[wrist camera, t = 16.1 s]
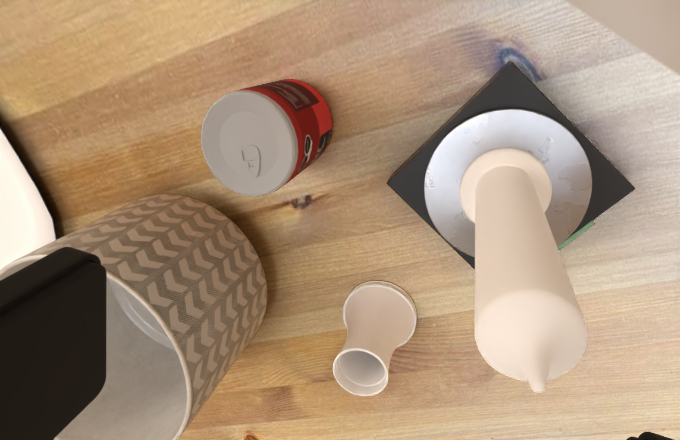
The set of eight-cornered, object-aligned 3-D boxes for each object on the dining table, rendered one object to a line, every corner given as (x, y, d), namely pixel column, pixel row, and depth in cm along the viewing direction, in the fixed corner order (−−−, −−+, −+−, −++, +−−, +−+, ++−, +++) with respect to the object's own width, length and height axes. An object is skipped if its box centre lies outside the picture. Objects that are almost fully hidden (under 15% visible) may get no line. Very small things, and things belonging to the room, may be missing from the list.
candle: (506, 128, 39) (548, 262, 16) (570, 190, 39) (699, 404, 17) (441, 190, 42) (400, 376, 19) (502, 246, 42) (531, 494, 20)
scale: (509, 60, 41) (512, 62, 37) (631, 184, 41) (644, 197, 38) (390, 176, 46) (384, 187, 43) (499, 283, 47) (501, 301, 44)
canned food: (279, 174, 49) (228, 210, 39) (243, 97, 47) (180, 115, 37) (348, 146, 46) (313, 178, 36) (313, 64, 45) (266, 73, 35)
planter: (245, 368, 59) (156, 499, 42) (107, 292, 60) (-32, 390, 44) (304, 238, 51) (222, 336, 34) (144, 154, 52) (-10, 210, 36)
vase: (397, 270, 50) (379, 323, 40) (429, 332, 51) (419, 397, 42) (332, 294, 52) (302, 349, 43) (365, 352, 54) (342, 417, 45)
